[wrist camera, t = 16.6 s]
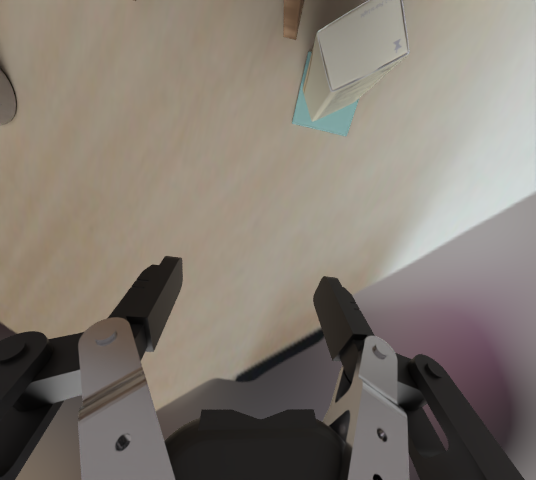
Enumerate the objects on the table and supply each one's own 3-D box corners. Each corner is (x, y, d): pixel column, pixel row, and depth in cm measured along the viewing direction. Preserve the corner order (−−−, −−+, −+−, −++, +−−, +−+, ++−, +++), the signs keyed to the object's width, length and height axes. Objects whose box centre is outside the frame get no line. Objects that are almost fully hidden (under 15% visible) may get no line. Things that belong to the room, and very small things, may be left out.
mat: (292, 123, 27) (292, 122, 27) (308, 53, 24) (308, 51, 24) (345, 136, 27) (346, 135, 27) (368, 67, 24) (369, 66, 24)
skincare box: (347, 66, 24) (404, -24, 13) (355, 103, 26) (414, 52, 14) (300, 90, 25) (314, 27, 14) (310, 125, 27) (331, 93, 15)
